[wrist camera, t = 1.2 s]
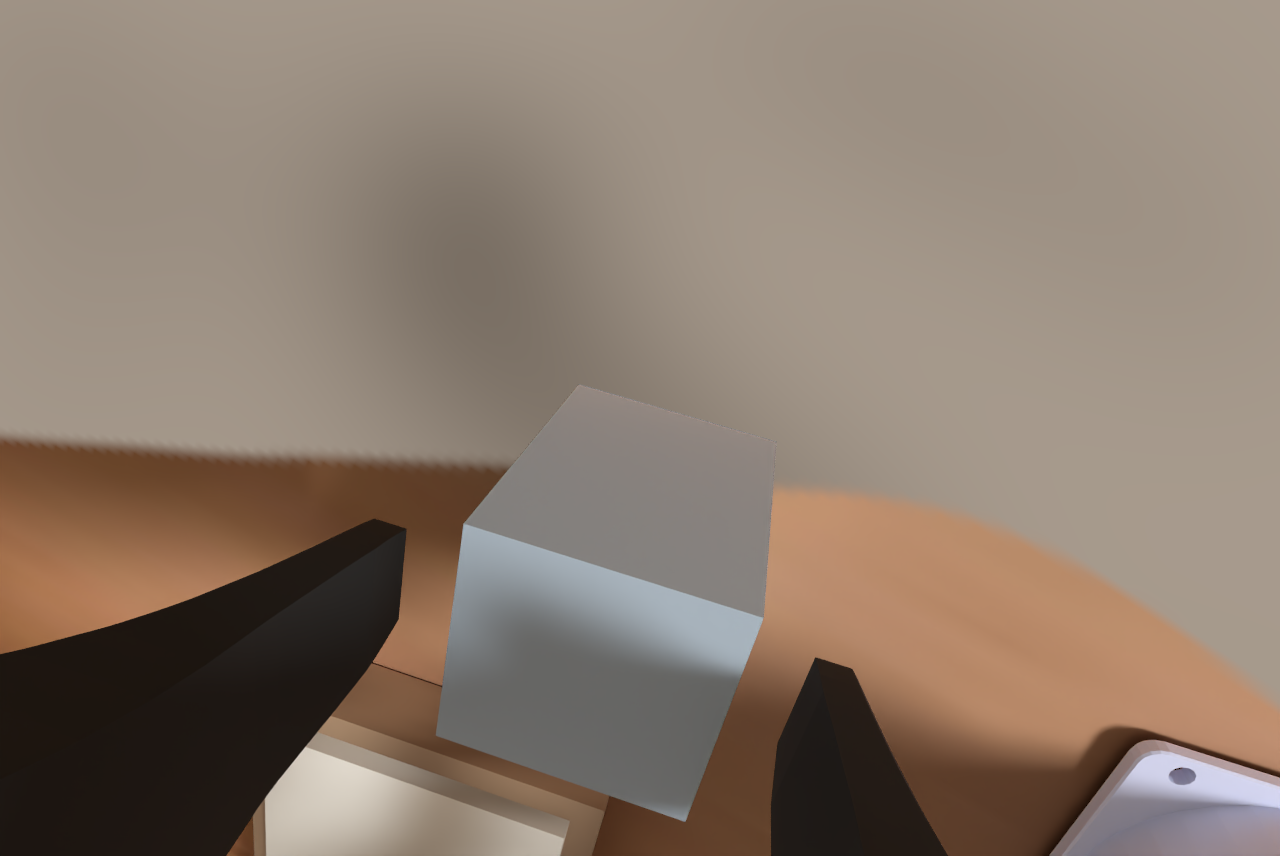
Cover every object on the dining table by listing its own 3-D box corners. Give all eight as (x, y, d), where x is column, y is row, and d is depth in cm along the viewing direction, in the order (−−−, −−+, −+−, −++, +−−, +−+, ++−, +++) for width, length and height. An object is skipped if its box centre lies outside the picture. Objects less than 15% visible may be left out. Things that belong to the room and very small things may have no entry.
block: (776, 441, 15) (763, 617, 10) (720, 601, 17) (684, 822, 12) (578, 383, 16) (463, 524, 10) (546, 546, 18) (435, 735, 12)
